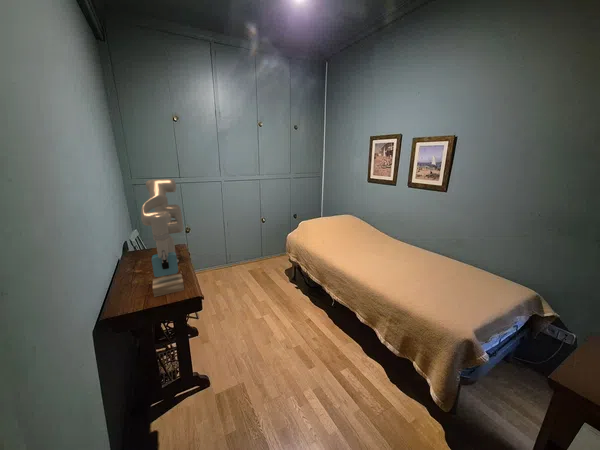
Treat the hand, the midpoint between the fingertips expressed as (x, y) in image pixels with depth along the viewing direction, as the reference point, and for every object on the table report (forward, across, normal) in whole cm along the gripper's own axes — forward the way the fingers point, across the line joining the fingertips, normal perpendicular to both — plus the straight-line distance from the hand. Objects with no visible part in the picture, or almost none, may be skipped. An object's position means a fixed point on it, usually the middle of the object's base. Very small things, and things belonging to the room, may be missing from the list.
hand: (165, 266), depth 134 cm
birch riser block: (+14, 0, 0) cm, 14 cm away
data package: (+5, 0, 0) cm, 5 cm away
